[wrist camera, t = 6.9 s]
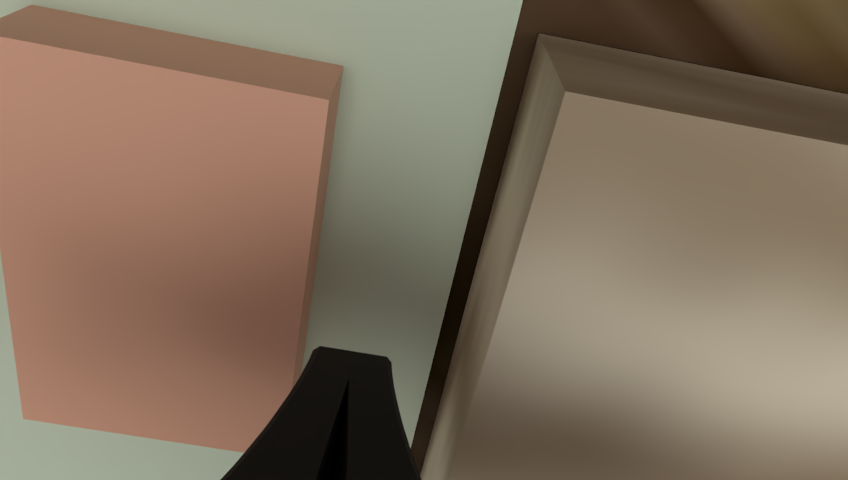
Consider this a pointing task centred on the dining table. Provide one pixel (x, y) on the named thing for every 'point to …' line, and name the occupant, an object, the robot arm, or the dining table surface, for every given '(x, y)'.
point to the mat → (328, 197)
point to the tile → (158, 224)
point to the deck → (656, 281)
